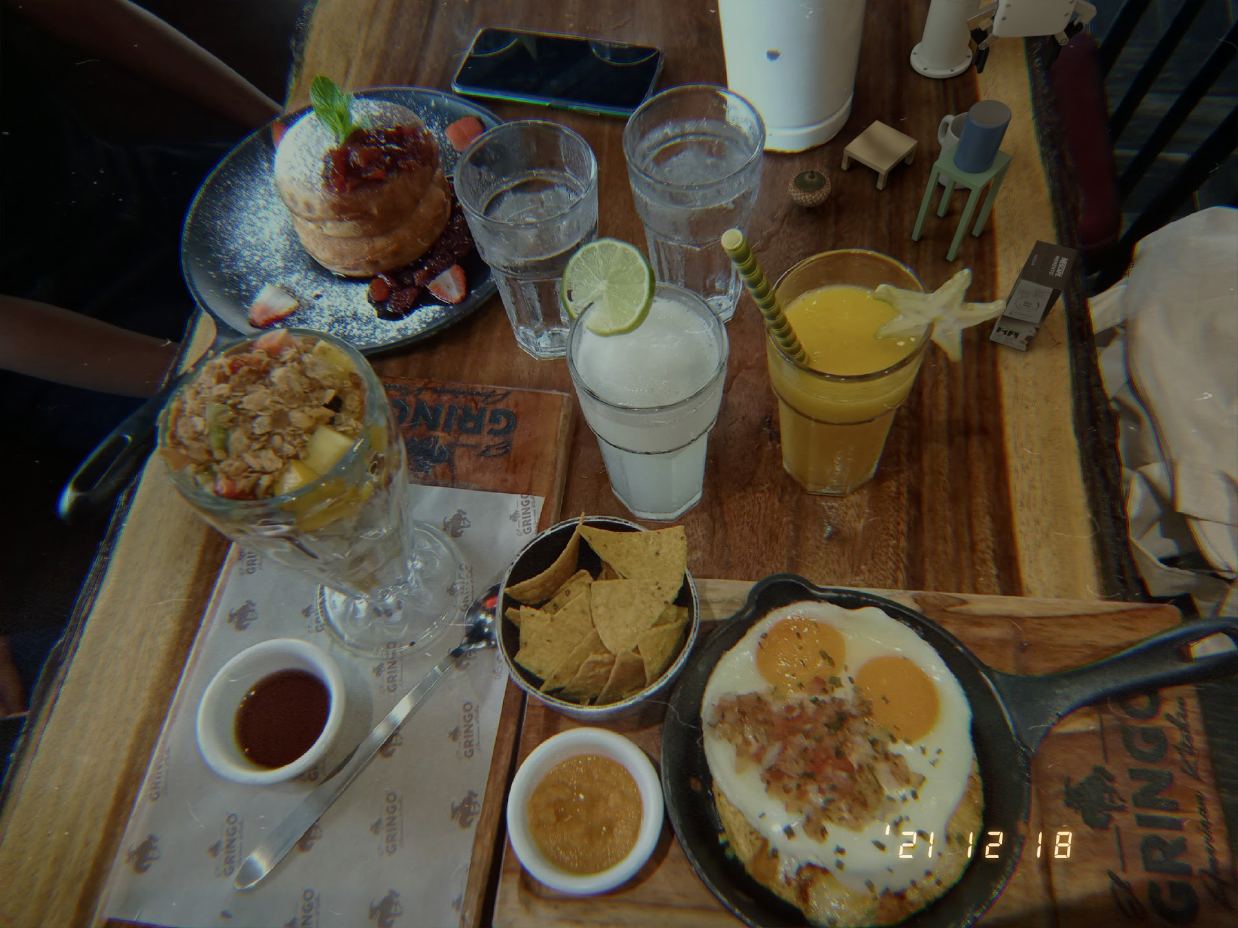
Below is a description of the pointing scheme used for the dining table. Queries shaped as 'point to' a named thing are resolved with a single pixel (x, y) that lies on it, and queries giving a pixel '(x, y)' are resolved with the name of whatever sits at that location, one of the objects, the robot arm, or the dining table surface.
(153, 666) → the dining table surface
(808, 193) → the acorn
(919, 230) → the tall green stool
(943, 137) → the mug
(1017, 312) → the coffee box
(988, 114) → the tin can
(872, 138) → the low shelf
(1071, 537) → the dining table surface
